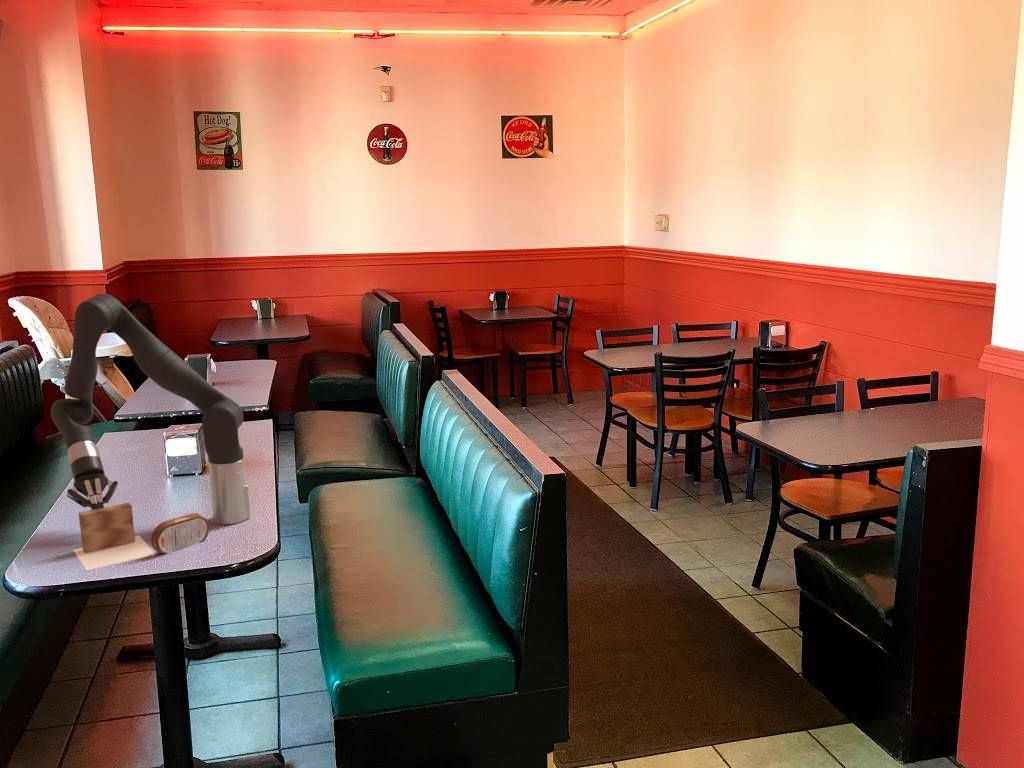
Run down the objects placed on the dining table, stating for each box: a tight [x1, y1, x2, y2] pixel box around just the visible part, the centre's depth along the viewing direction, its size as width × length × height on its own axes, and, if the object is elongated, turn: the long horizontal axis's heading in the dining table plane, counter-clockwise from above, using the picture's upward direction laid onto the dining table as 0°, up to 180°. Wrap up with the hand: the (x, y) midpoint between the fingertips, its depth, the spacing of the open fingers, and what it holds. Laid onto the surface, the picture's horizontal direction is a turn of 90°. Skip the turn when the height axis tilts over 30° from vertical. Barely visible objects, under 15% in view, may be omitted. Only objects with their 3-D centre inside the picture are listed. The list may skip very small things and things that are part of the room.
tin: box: [150, 512, 210, 555], centre depth 226 cm, size 15×3×8 cm, turn 141°
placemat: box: [72, 535, 156, 571], centre depth 224 cm, size 16×16×1 cm
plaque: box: [78, 502, 136, 553], centre depth 227 cm, size 12×3×10 cm, turn 126°
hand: (100, 517), depth 233 cm, fingers closed
